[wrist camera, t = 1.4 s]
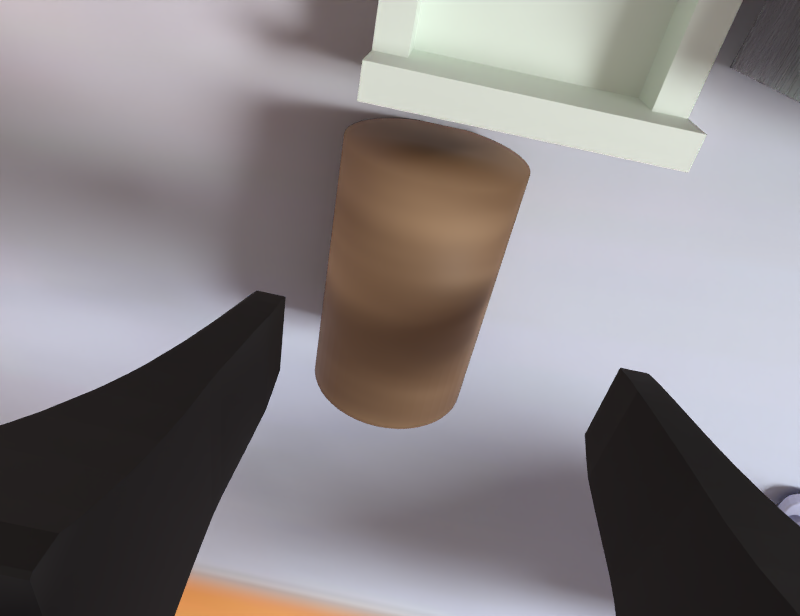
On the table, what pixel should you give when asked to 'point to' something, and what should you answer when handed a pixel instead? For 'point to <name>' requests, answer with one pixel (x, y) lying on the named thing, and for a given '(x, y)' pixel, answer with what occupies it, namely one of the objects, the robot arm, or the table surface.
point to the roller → (412, 266)
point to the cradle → (554, 69)
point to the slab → (774, 48)
